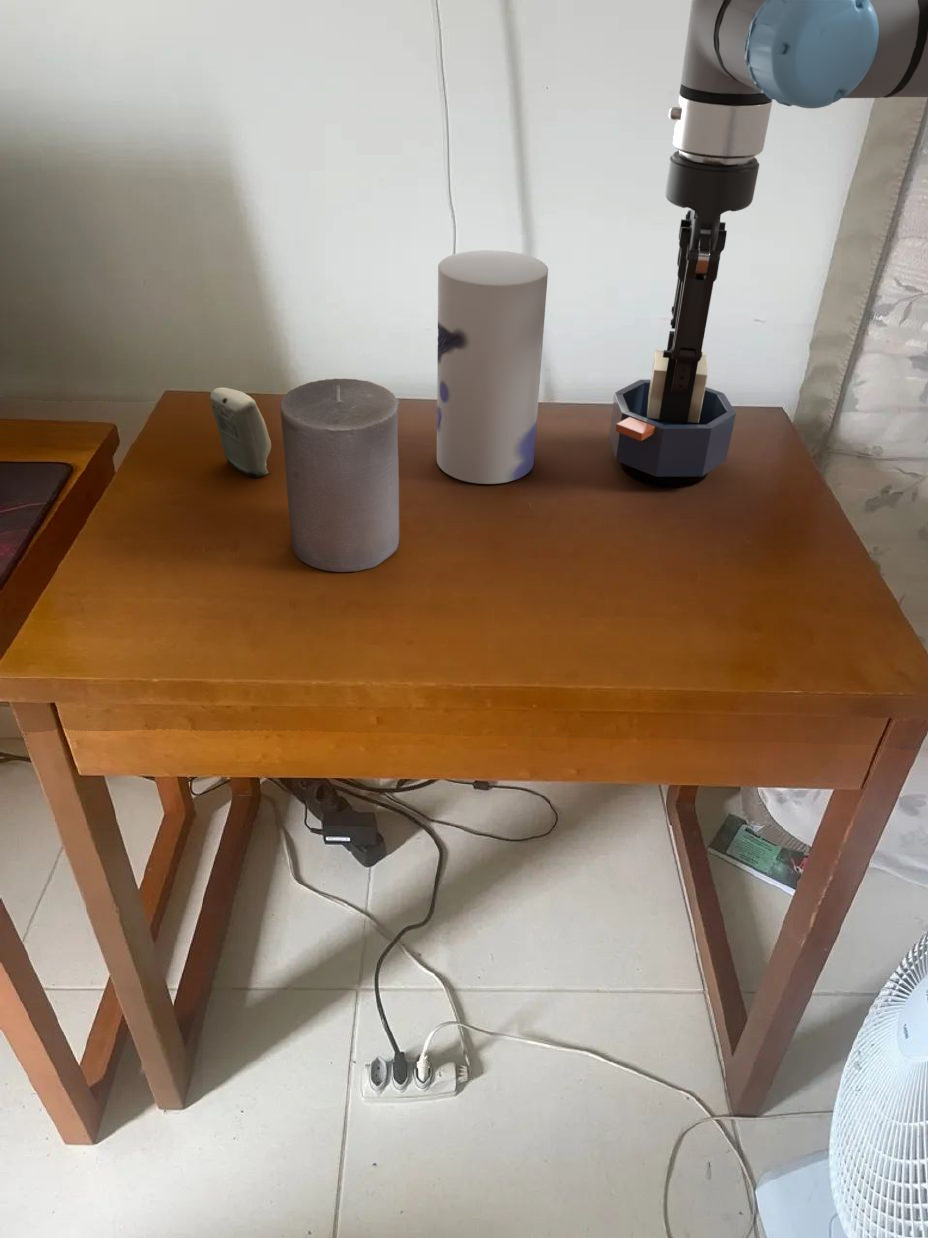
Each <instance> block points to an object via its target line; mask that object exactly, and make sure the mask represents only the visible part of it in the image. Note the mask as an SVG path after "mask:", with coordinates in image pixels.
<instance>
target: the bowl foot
mask: <svg viewBox="0 0 928 1238" xmlns="http://www.w3.org/2000/svg"><path fill="white" fill-rule="evenodd" d="M619 465H620V468H621V470H622V471H623V473H625V474H626V475H627V476H628V477H629V478H631V479H633V480H635V481H637V482H639V483H641V484H645V485H648V486H652V487H658V488H664V489H679V488H680V489H681V488H688V487H693V486H695V485H697V484H699V483H701V482H703V481H704V480H705V479H706V478H707V476H708V473H709V472H708V473H707V474H705V475H704V476H701V477H655V476H653V475H650V474H648V473H645V472H643V471H640V470H638V469H635V468H633V467H631V466H628V465H626V464H623V463H621V462H619Z"/></svg>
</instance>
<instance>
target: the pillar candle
mask: <svg viewBox="0 0 928 1238" xmlns="http://www.w3.org/2000/svg"><path fill="white" fill-rule="evenodd" d="M400 404H401V403H400V400H399V399H398V398H396V395H394V393H393V392H391V391H390V390H389V389H387V388H386V387H384V386H382V385H380V384H377V383H375V382H372V381H370V380H369V381H368V380H362V379H356V378H325V379H321V380H316V381H315V380H314V381H310V382H306V383H304V384H301V385H298V386H297V387H294V388H293V389H291V390H289V391H288V392H286V394H285V395H283V397H282V398H281V399H280V404H279V408H280V419H281V431H282V434H281V435H282V445H283V456H284V465H285V466H284V467H285V468H284V469H285V481H286V495H287V505H288V516H289V528H290V539H291V548H292V551H293V553H294V554H295V556H296V558H298V560H299V561H301V562H303V563H304V564H306V565H308V566H310V567H312V568H316V569H318V570H323V571H326V572H327V571H328V572H334V573H350V572H359V571H363V570H370V569H373V568H375V567H377V566H378V565H380V564H382V563H383V562H384V561H385V560H387V559H388V558H389V557H390V556H392V555H393V554H394V553H395V552H396V551H397V550H398V547H399V543H400V477H399V474H400V473H399V472H400V471H399V466H400V465H399V460H400V459H399V434H398V433H399V417H398V416H399V415H398V413H399V406H400Z"/></svg>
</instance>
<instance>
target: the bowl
mask: <svg viewBox="0 0 928 1238" xmlns="http://www.w3.org/2000/svg"><path fill="white" fill-rule="evenodd" d="M650 381H651V379H638V380H636V381H634V382H633V383H631V384H628V385H627V386H624V387H623V388H621V389H619V390H617V391H615V392H614V394H613V399H612V401H613V402H612V407H611V408H612V409H611V416H610V423H609V424H610V426H609V431H608V442H609V446H610V448H611V450H612V453H613V455H614V458H615V461H617V462H619V463H620V462H621V463H623V464H626V465H628V466H631V467H633V468H635V469H638V470H640V471H643V472H645V473H648V474H650V475H653V476H655V477H701V476H704V475H705V474H707V473H710V472H711V471H713V470H714V469H716V468H717V467H719V466H721V465H722V464H724V463H725V462H727V458H728V453H729V448H730V443H731V439H732V435H733V431H734V425H735V420H736V415H737V412H736V411H735V409H734V407H733V406H732V404H731V402H730V401H729V399H728V398H727V395H726V394H725V393H724V392H721V391H720V390H716V389H714V388H710V387H708V386H705V392H704V397H703V403H702V408H701V413H700V419H699V423H692V422H687V423H680V422H670V421H659V419H652V418H647V408H648V395H649V388H650ZM707 475H708V474H707Z"/></svg>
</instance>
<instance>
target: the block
mask: <svg viewBox="0 0 928 1238" xmlns="http://www.w3.org/2000/svg"><path fill="white" fill-rule="evenodd" d="M663 351H664V350H657V349H656V350H654V355H653V361H652V370H651V375H650V380H651V381H650V388H649V395H648V408H647V418H652V419H659V415H660V409H661V403H662V396H663V390H664V384H665V377H666V371H667V365H668V358H663ZM708 375H709V374H708V358H707V354H702V358H701V360H700V361H698V366H697V371H696V377H695V383H694V388H693V394H692V400H691V405H690V411H689V416H688V422H692V423H699V419H700V413H701V408H702V403H703V397H704V392H705V387H707V381H708Z"/></svg>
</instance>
